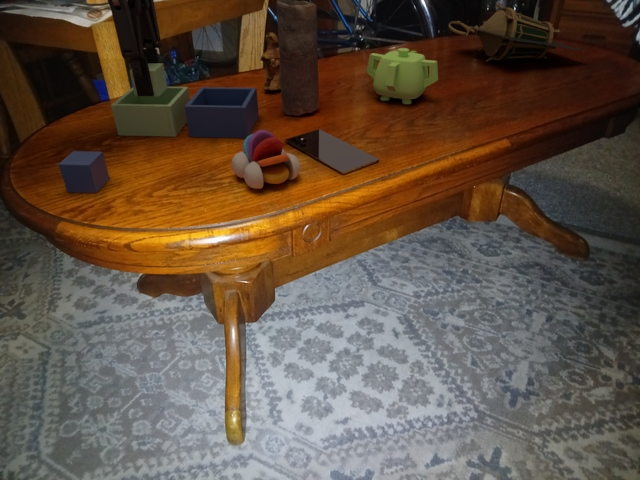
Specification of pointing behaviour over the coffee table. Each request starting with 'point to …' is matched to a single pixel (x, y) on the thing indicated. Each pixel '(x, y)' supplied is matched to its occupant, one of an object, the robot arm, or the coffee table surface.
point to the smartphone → (332, 151)
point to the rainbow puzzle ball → (264, 161)
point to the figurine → (271, 64)
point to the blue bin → (222, 112)
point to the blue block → (84, 171)
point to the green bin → (151, 113)
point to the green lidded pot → (401, 74)
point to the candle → (298, 56)
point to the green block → (154, 78)
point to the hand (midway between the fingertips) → (151, 90)
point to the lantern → (513, 35)
